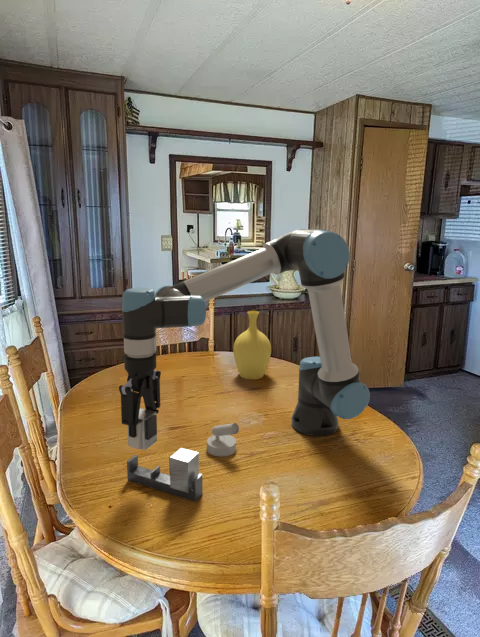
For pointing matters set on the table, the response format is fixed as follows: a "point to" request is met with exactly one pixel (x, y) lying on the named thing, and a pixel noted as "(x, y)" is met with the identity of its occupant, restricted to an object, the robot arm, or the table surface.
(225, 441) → the wall hook
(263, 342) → the vase
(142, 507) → the table surface
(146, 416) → the light grey block
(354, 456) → the table surface
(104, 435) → the table surface
